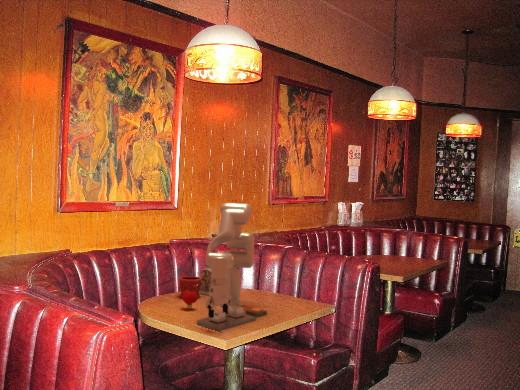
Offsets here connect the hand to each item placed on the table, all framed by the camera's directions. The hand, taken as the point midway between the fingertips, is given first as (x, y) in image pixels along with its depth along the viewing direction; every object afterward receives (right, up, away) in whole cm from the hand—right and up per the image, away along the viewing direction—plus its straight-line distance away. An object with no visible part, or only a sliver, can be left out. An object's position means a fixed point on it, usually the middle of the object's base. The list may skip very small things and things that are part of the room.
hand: (218, 315), depth 252 cm
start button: (+19, -4, +20) cm, 28 cm away
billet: (0, -4, 0) cm, 4 cm away
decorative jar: (-9, -3, +68) cm, 68 cm away
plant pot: (-22, -3, +56) cm, 60 cm away
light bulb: (-18, -4, +29) cm, 35 cm away
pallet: (+4, -5, +5) cm, 8 cm away
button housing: (+19, -5, +20) cm, 28 cm away
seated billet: (+8, -4, +10) cm, 13 cm away
